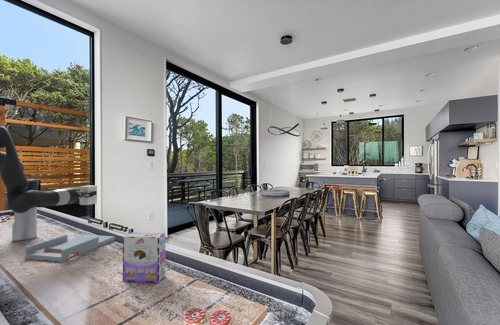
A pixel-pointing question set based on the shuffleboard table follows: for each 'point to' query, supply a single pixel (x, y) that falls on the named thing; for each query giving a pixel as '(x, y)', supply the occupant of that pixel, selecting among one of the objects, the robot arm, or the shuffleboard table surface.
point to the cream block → (90, 199)
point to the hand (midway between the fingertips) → (91, 192)
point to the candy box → (144, 257)
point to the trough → (65, 247)
